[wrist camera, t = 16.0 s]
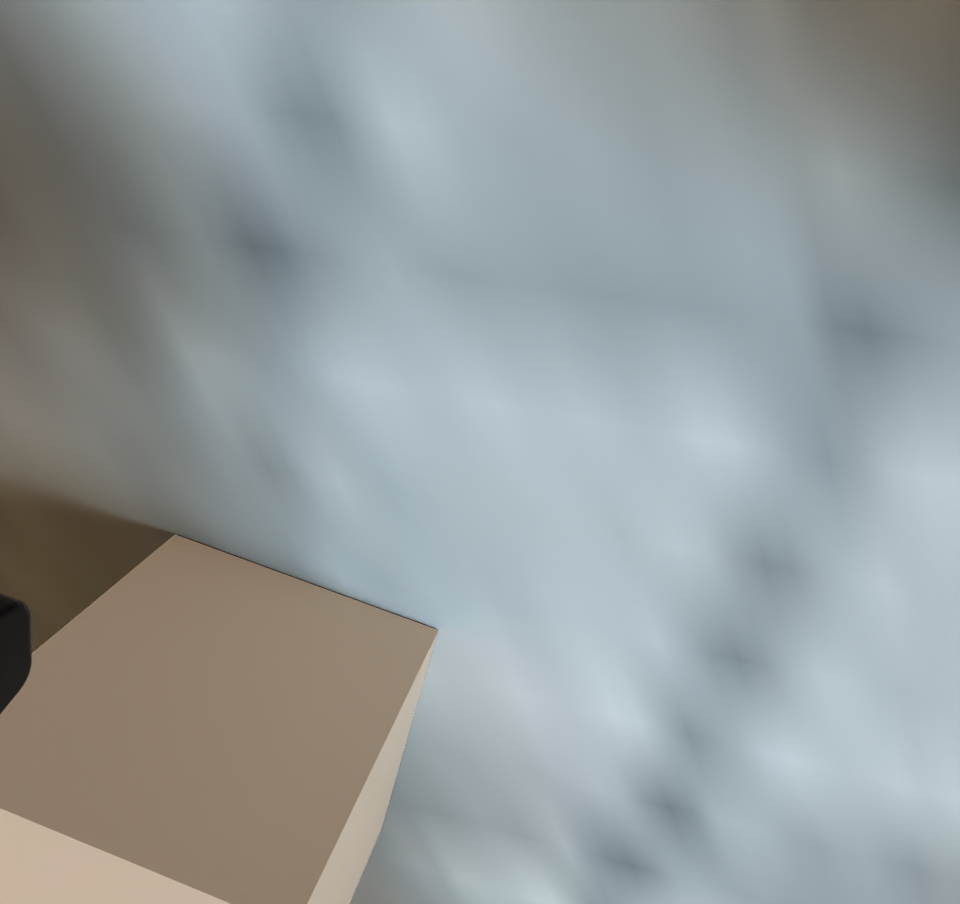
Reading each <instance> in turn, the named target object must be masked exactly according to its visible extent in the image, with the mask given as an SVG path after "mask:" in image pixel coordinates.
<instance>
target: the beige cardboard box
mask: <svg viewBox="0 0 960 904" xmlns="http://www.w3.org/2000/svg"><path fill="white" fill-rule="evenodd" d="M437 634H438V630H436V629H434V628H431V627H428V626H425V625H423V624H420V623H417V622H414V621H412V620H409V619H406V618H403V617H401V616H398V615H395V614H392V613H390V612H387V611H384V610H381V609H379V608H376V607H373V606H370V605H368V604H365V603H362V602H359V601H357V600H354V599H351V598H348V597H346V596H343V595H340V594H337V593H335V592H332V591H329V590H326V589H324V588H321V587H318V586H315V585H313V584H310V583H307V582H304V581H302V580H299V579H296V578H293V577H291V576H288V575H285V574H282V573H280V572H277V571H274V570H271V569H269V568H266V567H263V566H260V565H258V564H255V563H252V562H249V561H247V560H244V559H241V558H239V557H236V556H233V555H230V554H228V553H225V552H222V551H219V550H217V549H214V548H211V547H208V546H206V545H203V544H200V543H197V542H195V541H192V540H189V539H186V538H184V537H181V536H178V535H174V536H172V537H171V538H170V539H169V540H168V541H166V542H165V543H164V544H163V545H162V546H160V547H159V548H158V549H157V550H156V551H154V552H153V553H152V554H151V555H150V556H148V557H147V558H146V559H145V560H144V561H142V562H141V563H140V564H139V565H138V566H136V567H135V568H134V569H133V570H131V571H130V572H129V573H128V574H127V575H125V576H124V577H123V578H122V579H121V580H119V581H118V582H117V583H116V584H115V585H113V586H112V587H111V588H110V589H109V590H107V591H106V592H105V593H104V594H103V595H101V596H100V597H99V598H98V599H97V600H95V601H94V602H93V603H92V604H91V605H89V606H88V607H87V608H86V609H85V610H83V611H82V612H81V613H80V614H79V615H77V616H76V617H75V618H74V619H73V620H71V621H70V622H69V623H68V624H67V625H65V626H64V627H63V628H62V629H61V630H59V631H58V632H57V633H56V634H55V635H53V636H52V637H51V638H50V639H49V640H47V641H46V642H45V643H44V644H43V645H41V646H40V647H39V648H38V649H36V650H35V651H34V652H33V653H32V664H31V669H30V673H29V675H28V678H27V680H26V682H25V683H24V685H23V687H22V688H21V690H20V691H19V692H18V693H17V695H16V696H15V697H14V698H13V700H12V701H11V702H10V703H9V704H8V706H7V707H6V708H5V709H4V711H3V712H2V713H1V714H0V904H349V903H350V901H351V899H352V896H353V894H354V892H355V889H356V887H357V885H358V882H359V880H360V878H361V875H362V873H363V871H364V868H365V866H366V864H367V861H368V859H369V857H370V854H371V852H372V850H373V847H374V845H375V842H376V840H377V838H378V835H379V833H380V831H381V828H382V825H383V822H384V819H385V815H386V812H387V808H388V805H389V801H390V798H391V794H392V791H393V787H394V784H395V780H396V777H397V773H398V770H399V766H400V763H401V759H402V756H403V752H404V749H405V745H406V742H407V738H408V735H409V731H410V728H411V724H412V721H413V718H414V714H415V711H416V707H417V704H418V700H419V697H420V693H421V690H422V686H423V683H424V679H425V676H426V672H427V669H428V665H429V662H430V658H431V655H432V651H433V648H434V644H435V641H436V637H437Z"/></svg>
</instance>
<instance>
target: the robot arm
mask: <svg viewBox="0 0 960 904" xmlns="http://www.w3.org/2000/svg"><path fill="white" fill-rule="evenodd" d="M31 664H32V648H31V613H30V610H29V608H28V606H27V605H26V604H25V603H24V602H22V601H19V600H17V599H14V598H11V597H9V596H6V595H3V594H1V593H0V714H1V713H2V712H3V711H4V709H5V708H6V707H7V706H8V704H9V703H10V702H11V701H12V700H13V698H14V697H15V696H16V695H17V693H18V692H19V691H20V690H21V688H22V687H23V685H24V683H25V682H26V680H27V678H28V675H29V673H30V669H31Z"/></svg>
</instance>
